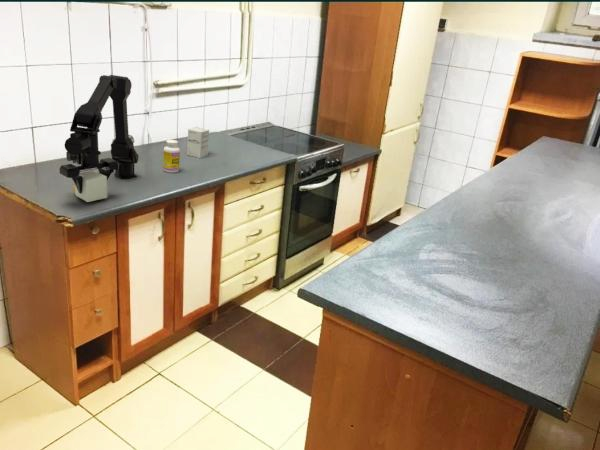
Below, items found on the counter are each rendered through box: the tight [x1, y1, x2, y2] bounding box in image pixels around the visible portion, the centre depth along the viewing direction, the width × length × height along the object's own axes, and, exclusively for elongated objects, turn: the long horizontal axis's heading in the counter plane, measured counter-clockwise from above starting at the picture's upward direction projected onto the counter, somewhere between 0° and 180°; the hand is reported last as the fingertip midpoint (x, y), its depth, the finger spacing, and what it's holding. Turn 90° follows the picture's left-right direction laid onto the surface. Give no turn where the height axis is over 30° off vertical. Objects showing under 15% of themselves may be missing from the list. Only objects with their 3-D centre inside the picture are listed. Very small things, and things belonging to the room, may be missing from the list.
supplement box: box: [186, 126, 210, 159], centre depth 242 cm, size 7×7×13 cm
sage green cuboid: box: [74, 169, 108, 203], centre depth 177 cm, size 8×8×8 cm
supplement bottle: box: [162, 139, 181, 174], centre depth 216 cm, size 7×7×13 cm
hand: (91, 191), depth 178 cm, fingers open, 8 cm apart
